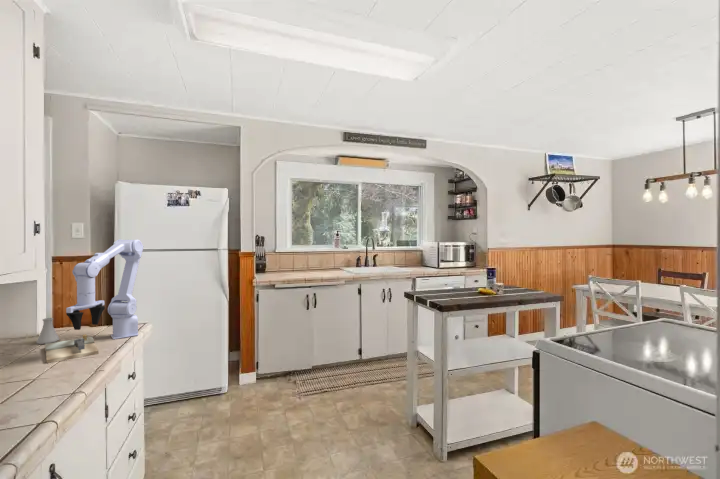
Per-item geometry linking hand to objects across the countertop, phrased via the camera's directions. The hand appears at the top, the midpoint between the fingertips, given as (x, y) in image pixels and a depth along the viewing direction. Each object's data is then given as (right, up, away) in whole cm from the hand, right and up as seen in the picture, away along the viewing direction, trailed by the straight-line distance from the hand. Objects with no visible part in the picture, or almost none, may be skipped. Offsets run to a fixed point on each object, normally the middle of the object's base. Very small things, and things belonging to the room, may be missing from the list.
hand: (86, 326), depth 139 cm
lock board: (-6, -9, 0) cm, 11 cm away
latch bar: (-1, -7, -1) cm, 7 cm away
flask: (-25, -9, +11) cm, 29 cm away
